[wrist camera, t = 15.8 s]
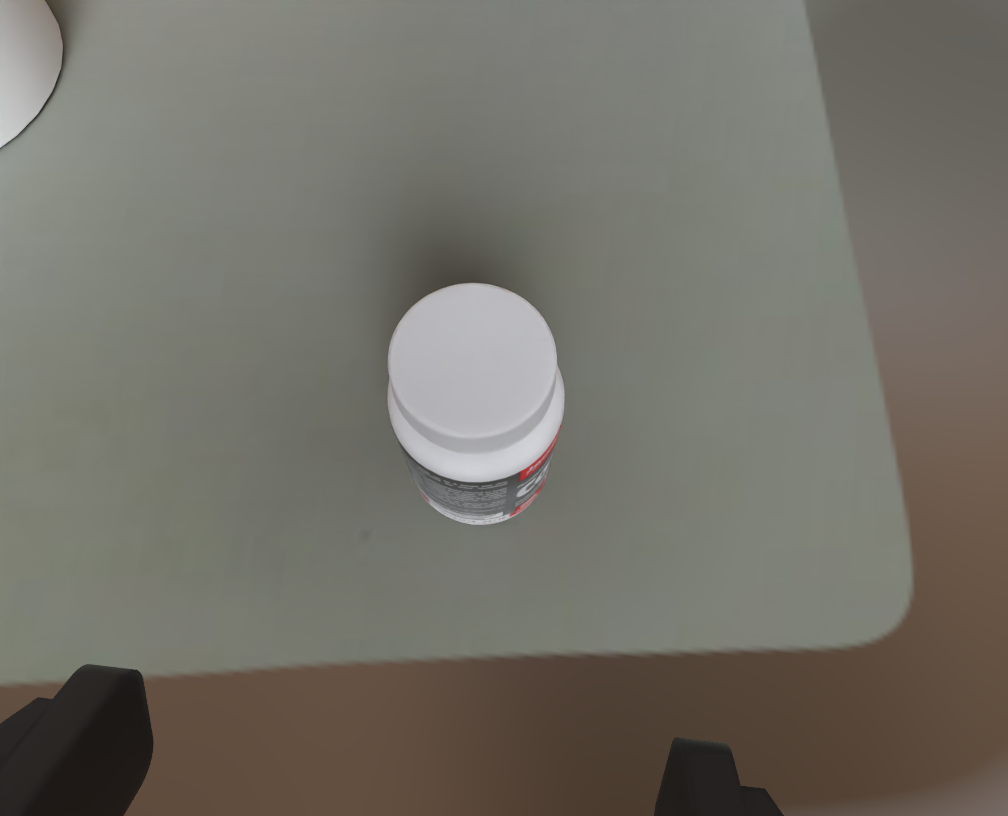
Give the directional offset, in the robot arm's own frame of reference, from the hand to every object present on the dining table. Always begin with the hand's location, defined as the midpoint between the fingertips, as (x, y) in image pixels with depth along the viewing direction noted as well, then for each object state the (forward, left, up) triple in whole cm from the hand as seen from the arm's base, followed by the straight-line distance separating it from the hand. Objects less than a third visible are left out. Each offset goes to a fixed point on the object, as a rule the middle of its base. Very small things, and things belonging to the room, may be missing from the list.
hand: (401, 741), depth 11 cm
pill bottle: (+7, +3, -12) cm, 14 cm away
